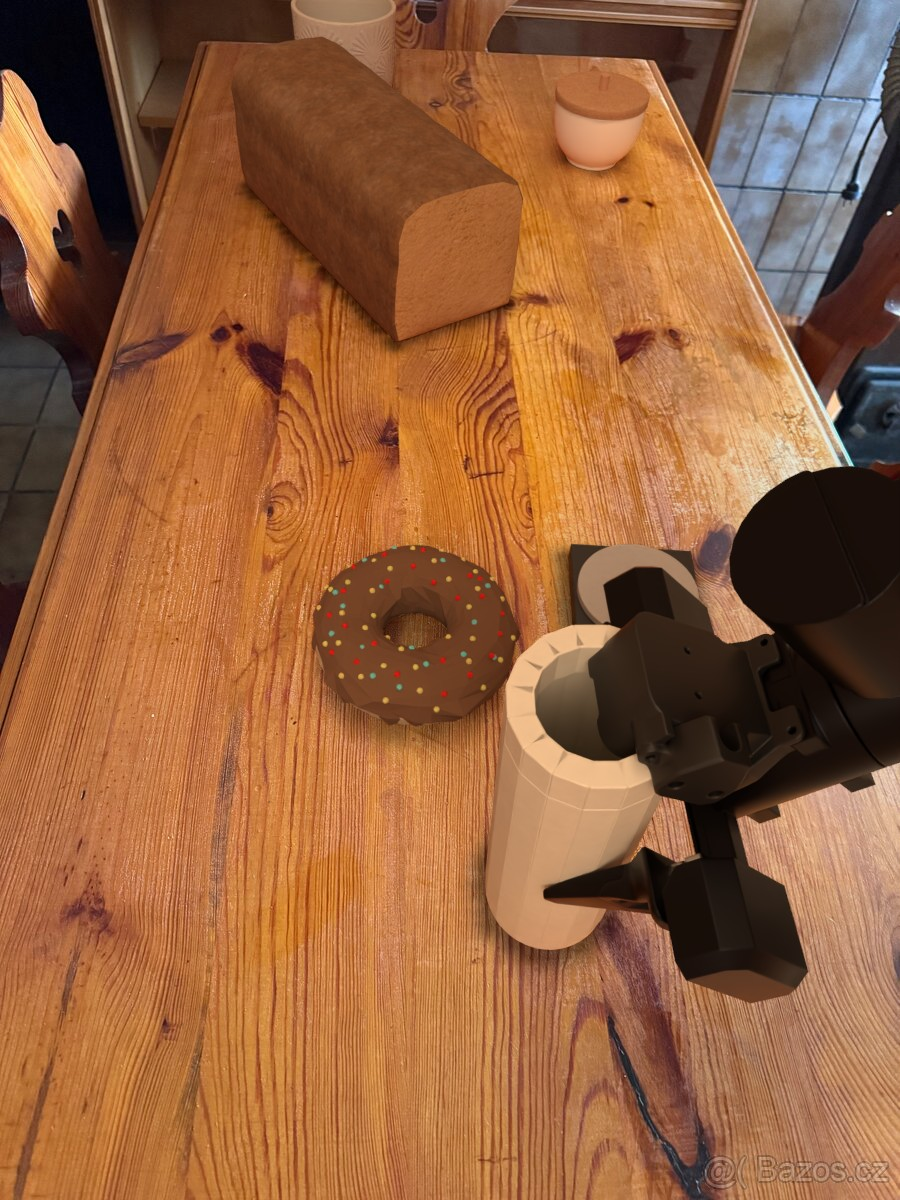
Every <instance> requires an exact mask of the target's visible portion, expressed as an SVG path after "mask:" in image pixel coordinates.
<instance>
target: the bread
mask: <svg viewBox="0 0 900 1200" xmlns="http://www.w3.org/2000/svg"><path fill="white" fill-rule="evenodd" d="M230 84H231V85H230V89H231V95H232V100H233V105H234V115H235V127H236V128H235V129H236V138H237V144H238V153H239V158H240V166H241V172H242V176H243V179H244V182H245V184H246V186H247V187H248V188H249V189H250V190H251V192H253V194H254V195H255V196H256V197H257V198H258V199H259V200H260V201H261V202H262V203H263V204H264V205H265V207H266V208H268V210H269V211H271V212H272V213H273V215H275V217H276V218H277V219H278V220H279V221H280V222H281V223H282V224H283V225H284V226H285V227H286V228H287V230H288V231H289V232H290V233H291V234H292V235H293V236H294V237H295V238H296V240H297V241H299V243H300V244H301V245H302V246H303V247H304V248H305V249H306V250H307V251H308V252H309V253H310V254H312V256H313V257H314V258H315V259H316V260H317V261H318V262H319V264H321V266H322V268H324V269H325V270H326V271H327V272H328V273H329V275H330V276H332V278H334V280H335V281H336V282H337V283H338V284H339V285H340V286H341V287H342V288H343V289H344V290H345V291H346V292H347V293H348V294H349V295H350V296H351V297H352V298H353V299H354V300H355V301H356V302H357V303H358V304H359V305H360V306H361V308H363V309H364V311H365V312H366V313H367V314H368V315H369V316H370V318H372V319H373V321H375V323H376V324H378V326H379V327H381V329H382V330H383V331H384V332H385V333H386V334H388V335H389V336H390V337H391V338H392V339H393V340H394V341H395V342H401V341H403V340H408V339H411V338H414V337H417V336H420V335H423V334H425V333H428V332H431V331H434V330H437V329H440V328H442V327H446V326H449V325H452V324H454V323H457V322H461V321H464V320H467V319H469V318H472V317H475V316H478V315H482V314H484V313H487V312H490V311H492V310H495V309H498V308H500V307H504V306H506V305H508V304H509V303H510V298H511V294H512V291H513V288H514V281H515V273H516V267H517V266H516V265H517V257H518V250H519V243H520V241H519V240H520V230H521V219H522V211H523V204H524V196H523V194H522V190H521V187H520V184H519V181H517V180H516V179H515V178H514V177H513V176H511V175H510V174H508V173H507V172H505V171H504V170H503V169H501V168H500V167H498V166H497V165H495V164H494V163H493V162H492V161H490V160H489V159H487V158H486V157H485V156H484V155H483V154H481V153H480V152H479V151H478V150H476V149H474V148H473V147H472V146H470V145H469V144H468V143H466V142H464V140H462V139H460V138H459V137H458V136H457V135H456V134H455V133H453V132H452V131H451V130H450V129H448V128H446V127H445V126H444V125H442V124H441V123H439V122H437V121H436V120H434V118H432V117H431V116H430V115H429V114H428V113H427V112H426V111H424V110H423V109H422V108H421V107H420V106H418V105H417V104H415V103H414V102H412V101H411V100H410V99H409V98H407V97H405V96H404V95H403V94H401V92H399V91H398V90H396V89H395V88H394V87H393V86H392V87H391V86H390V85H389V84H388V83H386V82H385V81H384V80H383V79H382V78H381V77H379V76H378V75H377V74H376V73H375V72H373V71H372V70H371V69H370V68H368V67H367V66H366V65H364V64H363V63H361V62H360V61H359V60H358V59H356V58H355V57H354V56H353V55H352V54H350V53H349V52H348V51H347V50H346V49H344V48H343V47H342V46H340V45H339V44H337V43H335V42H333V41H331V40H329V39H326V38H324V37H313V38H305V39H298V40H295V39H291V40H285V41H281V42H277V43H272V44H268V45H263V46H260V47H256V48H254V49H250V50H247V51H244V52H243V54H242V55H241V56H240V57H239V58H238V60H237V61H236V63H235V64H234V66H232V76H231V83H230Z"/></svg>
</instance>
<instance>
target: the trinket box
mask: <svg viewBox="0 0 900 1200" xmlns="http://www.w3.org/2000/svg"><path fill="white" fill-rule="evenodd" d="M650 98H651V96H650V93H649V91H648V88H646V86H645V85H644V84H643V83H642V82H639V81H637V80H636V79H635V78H632V77H629V76H627V75H623V74H620V73H617V72H611V71H605V70H584V71H583V70H582V71H577V72H571V73H569V74H566V75H564V76H563V77H562V78H560V79H559V80H558V82H557V83H556V85H555V90H554V106H553V129H554V130H553V131H554V135H555V139H556V142H557V144H558V147H559V148H560V150H561V151H562V153H563V154H564V155H565V158H566V160H567V161H568V163H569V164H571V165H572V166H574V167H576V168H579V169H582V170H587V171H592V172H593V171H594V172H595V171H596V172H597V171H599V172H600V171H606V170H609V169H611V168H613V167H614V166H615V165H616V164H617V163H618V162H619V161H621V160H622V159H623V158H625V157H626V156H627V154H628V153H630V151H632V148H633V147H634V145H635V144H636V142H637V140H638V137H639V136H640V133H641V131H642V127H643V124H644V120H645V116H646V111H647V109H648V107H649V101H650Z"/></svg>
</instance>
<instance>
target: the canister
mask: <svg viewBox="0 0 900 1200" xmlns="http://www.w3.org/2000/svg"><path fill="white" fill-rule="evenodd" d="M619 630H620V628H617V627H614V626H611V625H572V624H570V625H568V626H564V627H562V628H559V629H557V630H554V631H551V632H548V633H545V634H543V635H541V636H540V637H539V638H538V639H536V640H535V641H534V642H533V643H532V644H531V645H530V646H529V647H528V648H527V649H525V650H524V651H523V652H522V653H521V654H519V656H518V657H517V658H516V660H515V662H514V665H513V667H512V670H511V672H510V673H509V675H508V677H507V680H506V683H505V687H504V696H503V703H502V704H503V706H502V715H501V723H500V733H499V742H498V751H497V760H496V771H495V778H494V779H495V780H494V787H493V796H492V797H493V798H492V808H491V817H490V826H489V834H488V844H487V853H486V862H485V871H484V873H485V883H484V887H485V888H484V889H485V896H486V901H487V904H488V907H489V911H490V912H491V914H492V916H493V918H494V919H495V921H496V922H497V924H498V925H499V927H500V928H501V929H502V930H503V931H504V932H505V933H507V935H508V936H510V937H511V938H513V939H514V940H516V941H517V942H519V943H521V944H523V945H525V946H528V947H531V948H533V949H539V950H548V951H553V950H562V949H566V948H568V947H572V946H575V945H576V944H578V943H580V942H581V941H583V940H584V939H585V938H587V937H588V936H589V935H590V934H591V933H592V932H593V931H594V930H595V928H596V927H597V926H598V924H599V923H600V922H601V921H602V920H603V918H604V916H605V913H606V911H608V909H601V908H592V907H583V906H574V905H564V904H556V903H553V902H550V901H548V900H545V899H544V898H543V890H544V889H546V888H548V887H550V886H552V885H554V884H557V883H559V882H562V881H565V880H568V879H571V878H574V877H577V876H581V875H585V874H589V873H593V872H596V871H600V870H604V869H608V868H612V867H615V866H619V865H623V864H626V863H629V862H631V861H632V860H633V858H634V856H635V853H636V851H637V849H638V847H639V845H640V843H641V840H642V839H643V837H644V835H645V833H646V831H647V829H648V826H649V825H650V822H651V821H652V819H653V817H654V815H655V813H656V810H657V809H658V806H659V804H660V802H661V800H662V799H663V797H662V796H659V795H657V794H656V793H655V792H654V788H653V783H652V778H651V773H650V770H649V768H648V767H647V766H646V765H645V764H642V763H640V762H639V761H638V758H637V754H634V755H632V756H629V757H627V758H624V759H623V758H620V757H618V756H616V755H615V754H613V753H612V752H611V751H610V750H609V749H608V748H607V747H606V746H605V745H604V743H603V742H602V740H601V737H600V735H599V731H598V726H597V719H598V716H599V711H598V705H597V699H596V693H595V687H594V681H593V679H592V678H590V676H589V671H588V660H589V659H590V658H591V657H592V656H593V655H594V654H596V653H597V652H598V651H599V650H600V649H602V648H603V646H604V645H605V643H606V642H607V641H608V640H609V639H610V638H611V637H612V636H614V635H615V634H616V633H617V632H618V631H619ZM665 744H666V743H665Z"/></svg>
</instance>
